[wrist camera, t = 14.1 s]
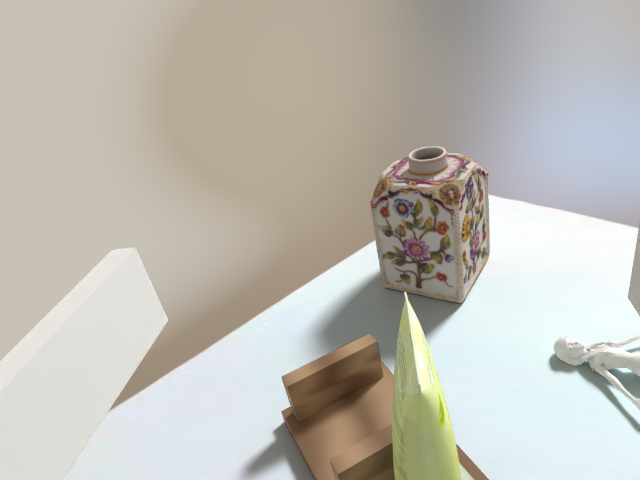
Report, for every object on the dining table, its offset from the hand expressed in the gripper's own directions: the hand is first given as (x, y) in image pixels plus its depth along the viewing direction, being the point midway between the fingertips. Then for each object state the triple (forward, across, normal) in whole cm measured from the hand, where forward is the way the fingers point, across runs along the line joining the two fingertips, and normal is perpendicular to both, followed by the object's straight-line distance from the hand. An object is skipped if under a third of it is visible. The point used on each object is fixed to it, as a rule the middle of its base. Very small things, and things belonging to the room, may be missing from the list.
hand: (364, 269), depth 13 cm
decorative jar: (+46, +2, -32) cm, 56 cm away
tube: (+10, 0, -31) cm, 32 cm away
